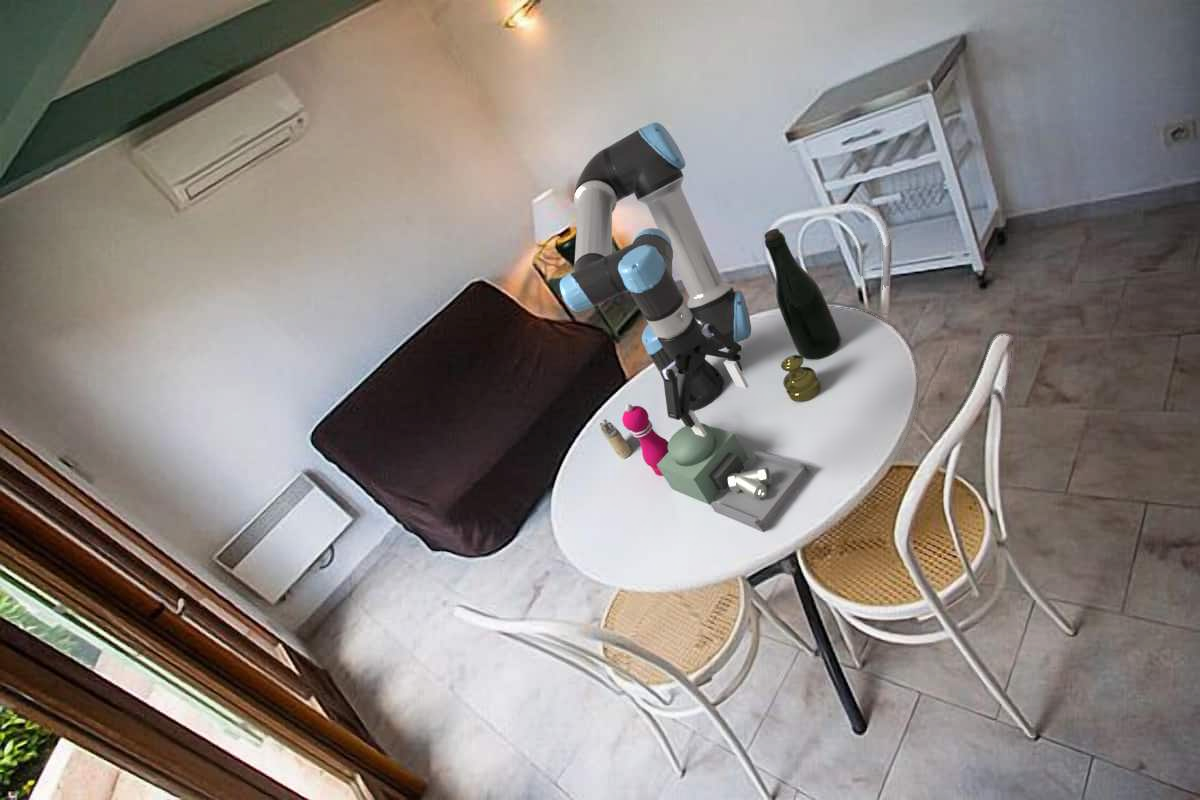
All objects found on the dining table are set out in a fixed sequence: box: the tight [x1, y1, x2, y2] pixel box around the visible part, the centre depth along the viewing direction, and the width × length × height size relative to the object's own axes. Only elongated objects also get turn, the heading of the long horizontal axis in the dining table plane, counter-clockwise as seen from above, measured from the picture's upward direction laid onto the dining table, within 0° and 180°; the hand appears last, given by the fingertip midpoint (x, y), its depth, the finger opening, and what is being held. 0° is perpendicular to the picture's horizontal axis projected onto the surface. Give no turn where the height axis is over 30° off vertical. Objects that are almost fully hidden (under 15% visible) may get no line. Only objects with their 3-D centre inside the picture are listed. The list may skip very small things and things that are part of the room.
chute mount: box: [710, 450, 811, 533], centre depth 130 cm, size 13×16×2 cm
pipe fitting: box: [728, 466, 772, 500], centre depth 130 cm, size 8×4×7 cm
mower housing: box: [657, 422, 750, 506], centre depth 139 cm, size 14×14×11 cm
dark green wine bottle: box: [764, 228, 842, 360], centre depth 149 cm, size 10×10×33 cm
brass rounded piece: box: [780, 354, 821, 403], centre depth 145 cm, size 7×7×10 cm
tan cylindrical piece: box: [599, 418, 633, 459], centre depth 164 cm, size 7×4×10 cm, turn 21°
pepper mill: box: [621, 403, 669, 477], centre depth 148 cm, size 7×7×20 cm
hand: (722, 410), depth 126 cm, fingers open, 13 cm apart
